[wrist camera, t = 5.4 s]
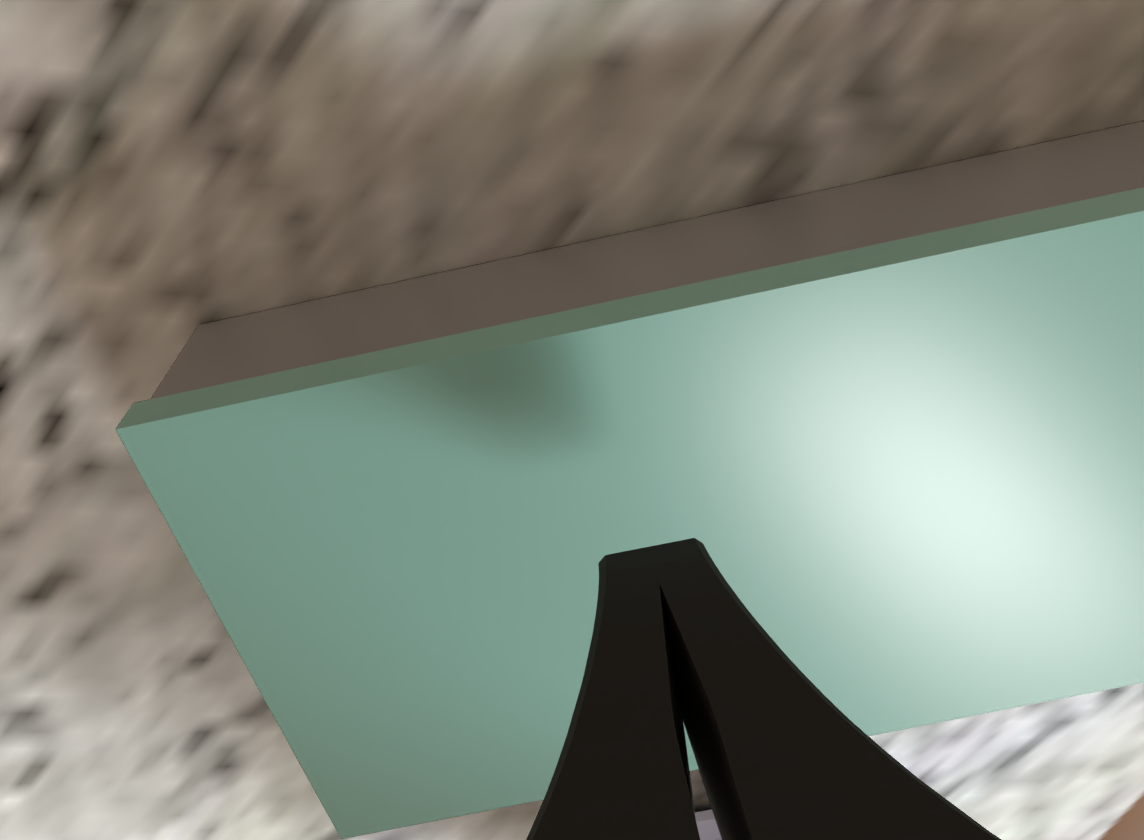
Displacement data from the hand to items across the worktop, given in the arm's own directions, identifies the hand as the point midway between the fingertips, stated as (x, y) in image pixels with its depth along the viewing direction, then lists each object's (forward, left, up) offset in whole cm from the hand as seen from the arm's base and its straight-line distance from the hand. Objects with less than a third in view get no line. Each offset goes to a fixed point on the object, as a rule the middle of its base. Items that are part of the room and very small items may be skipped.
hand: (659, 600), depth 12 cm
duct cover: (-2, -3, -4) cm, 5 cm away
